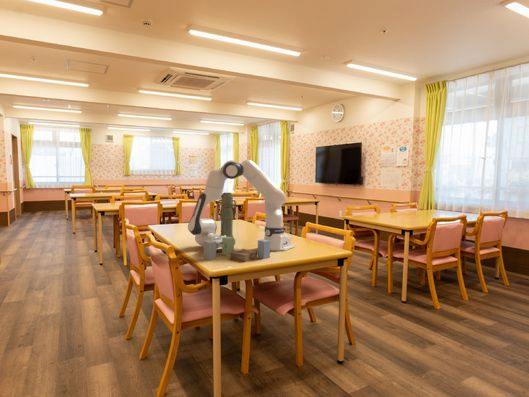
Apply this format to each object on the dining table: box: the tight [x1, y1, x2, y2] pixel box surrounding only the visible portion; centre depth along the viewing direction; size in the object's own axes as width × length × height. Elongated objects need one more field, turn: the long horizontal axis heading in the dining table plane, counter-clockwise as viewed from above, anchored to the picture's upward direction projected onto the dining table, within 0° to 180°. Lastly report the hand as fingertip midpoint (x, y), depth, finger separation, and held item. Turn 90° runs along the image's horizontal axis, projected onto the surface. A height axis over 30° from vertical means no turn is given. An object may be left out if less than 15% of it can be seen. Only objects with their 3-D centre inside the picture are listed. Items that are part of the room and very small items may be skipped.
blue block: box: [257, 238, 271, 260], centre depth 200 cm, size 5×5×10 cm
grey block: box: [203, 240, 217, 261], centre depth 194 cm, size 5×5×10 cm
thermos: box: [217, 192, 237, 238], centre depth 232 cm, size 9×12×35 cm
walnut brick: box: [230, 248, 258, 263], centre depth 197 cm, size 12×10×4 cm
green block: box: [221, 236, 235, 256], centre depth 206 cm, size 5×5×10 cm
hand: (229, 245), depth 206 cm, fingers closed on green block, 5 cm apart
